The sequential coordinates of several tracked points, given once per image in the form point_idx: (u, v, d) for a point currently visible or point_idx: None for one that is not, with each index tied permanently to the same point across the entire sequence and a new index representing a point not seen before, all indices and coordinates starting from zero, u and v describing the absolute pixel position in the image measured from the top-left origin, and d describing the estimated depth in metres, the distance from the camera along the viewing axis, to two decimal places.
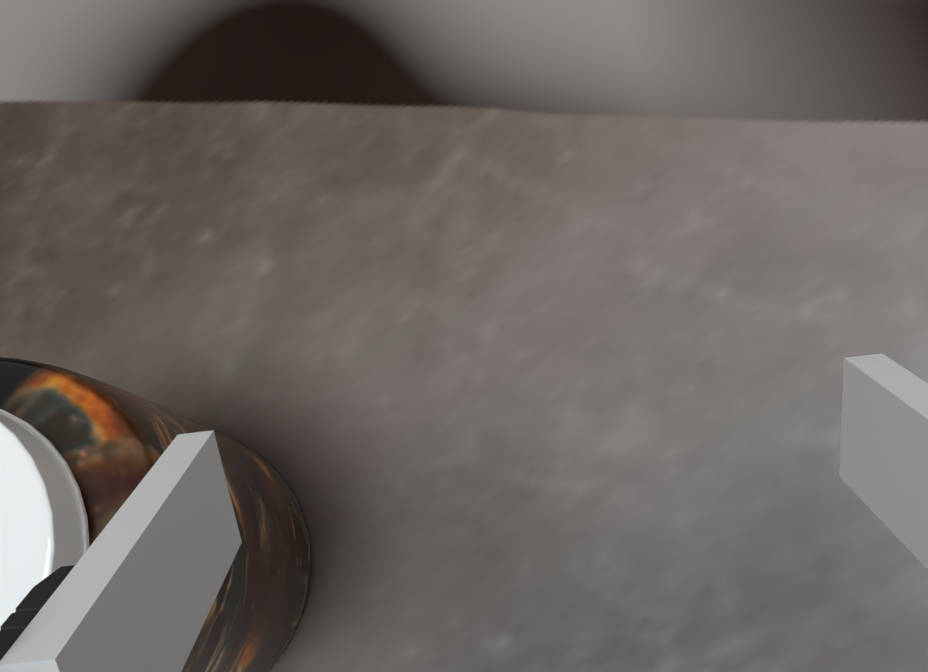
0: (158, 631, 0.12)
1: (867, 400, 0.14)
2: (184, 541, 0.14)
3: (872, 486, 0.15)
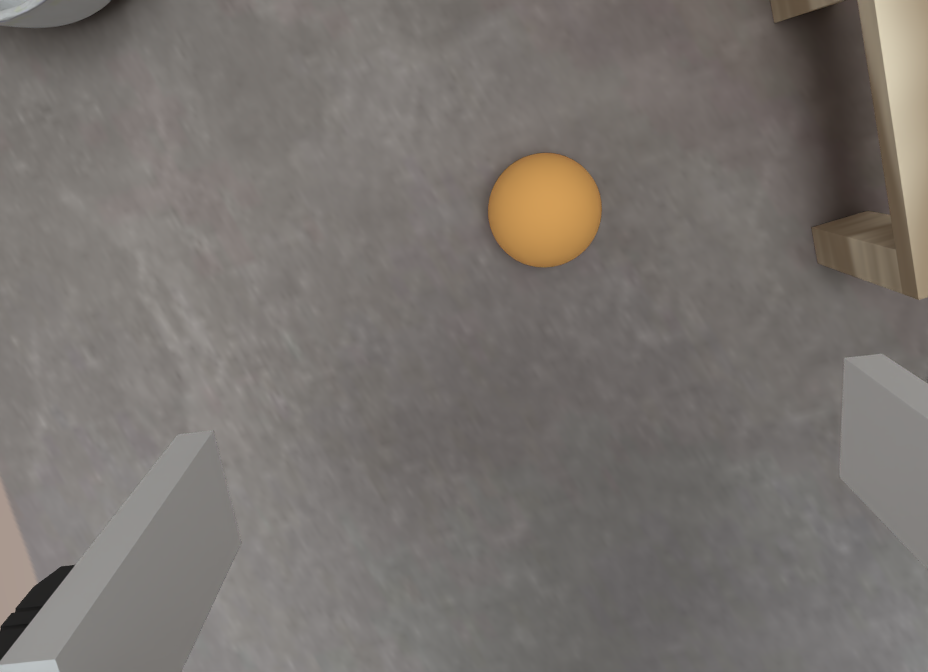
0: (158, 631, 0.12)
1: (867, 400, 0.14)
2: (184, 541, 0.14)
3: (872, 486, 0.15)
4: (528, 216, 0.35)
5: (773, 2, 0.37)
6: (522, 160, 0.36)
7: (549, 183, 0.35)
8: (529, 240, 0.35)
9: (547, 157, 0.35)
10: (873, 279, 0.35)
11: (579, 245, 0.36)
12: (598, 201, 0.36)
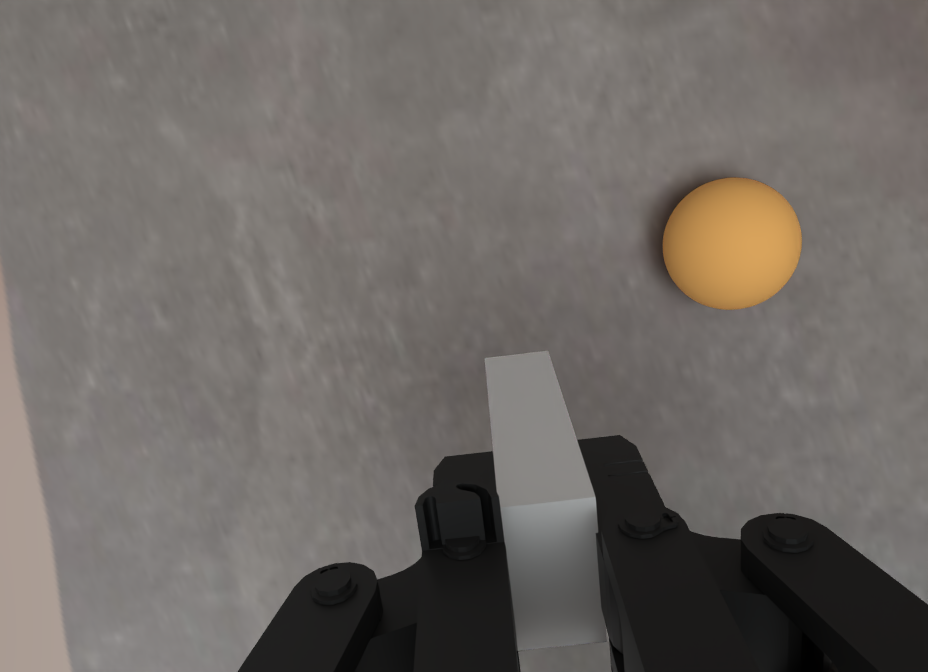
0: None
1: None
2: None
3: None
4: (727, 252, 0.30)
5: None
6: (723, 183, 0.31)
7: (758, 219, 0.29)
8: (720, 280, 0.30)
9: (755, 186, 0.30)
10: None
11: (770, 293, 0.31)
12: (801, 246, 0.31)
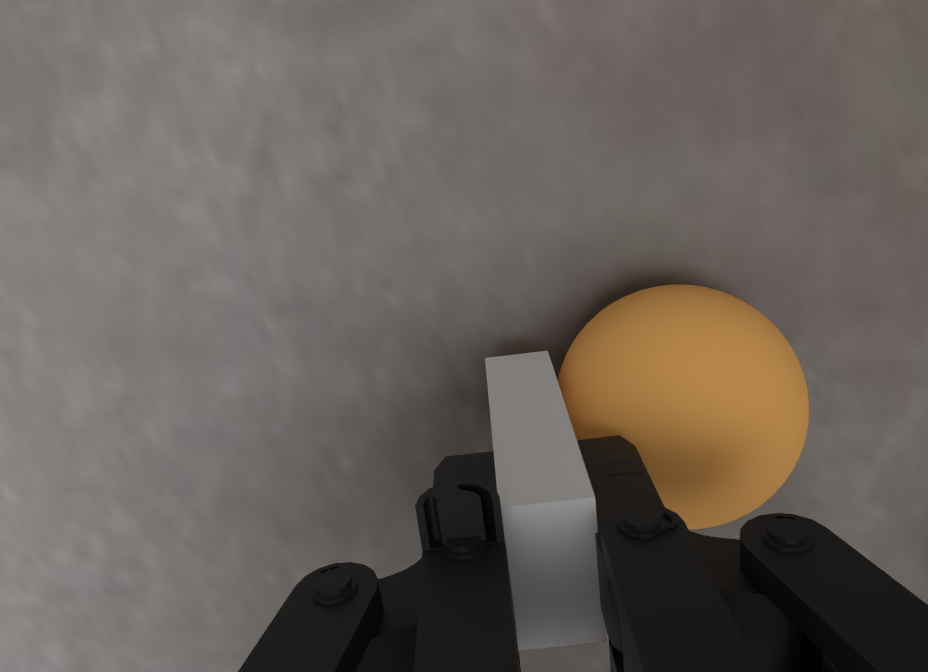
0: None
1: None
2: None
3: None
4: (802, 409, 0.15)
5: None
6: (696, 296, 0.16)
7: None
8: (791, 464, 0.16)
9: None
10: None
11: None
12: None
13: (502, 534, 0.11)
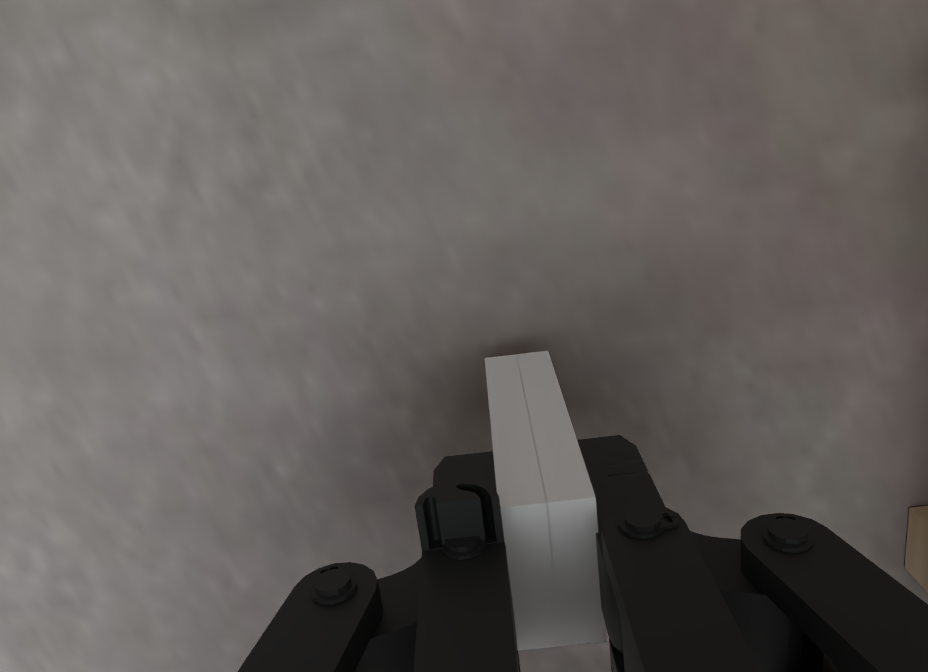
0: None
1: None
2: None
3: None
4: None
5: None
6: None
7: None
8: None
9: None
10: None
11: None
12: None
13: (501, 534, 0.11)
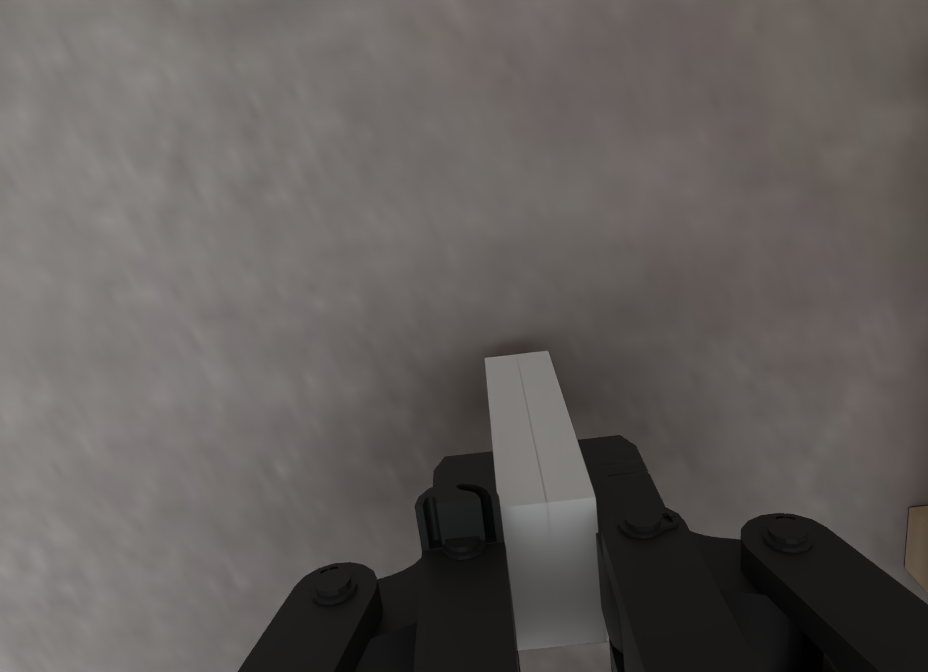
0: None
1: None
2: None
3: None
4: None
5: None
6: None
7: None
8: None
9: None
10: None
11: None
12: None
13: (501, 534, 0.11)
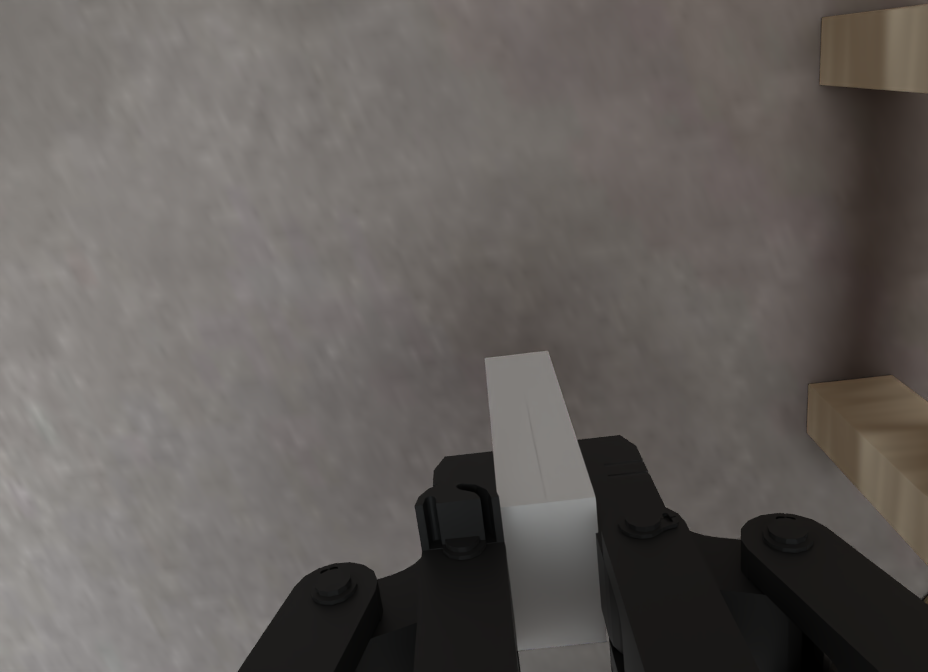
0: None
1: None
2: None
3: None
4: None
5: (825, 54, 0.24)
6: None
7: None
8: None
9: None
10: (886, 514, 0.23)
11: None
12: None
13: (502, 534, 0.11)
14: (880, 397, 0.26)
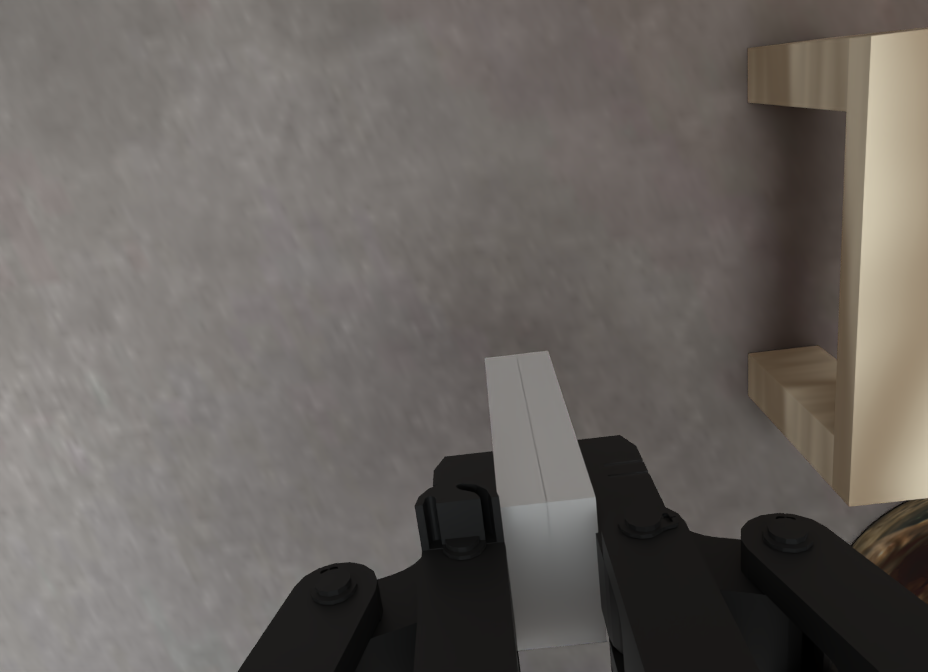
0: None
1: None
2: None
3: None
4: None
5: (751, 78, 0.29)
6: None
7: None
8: None
9: None
10: (803, 452, 0.28)
11: None
12: None
13: (501, 534, 0.11)
14: (805, 362, 0.31)
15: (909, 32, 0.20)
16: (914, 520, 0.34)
